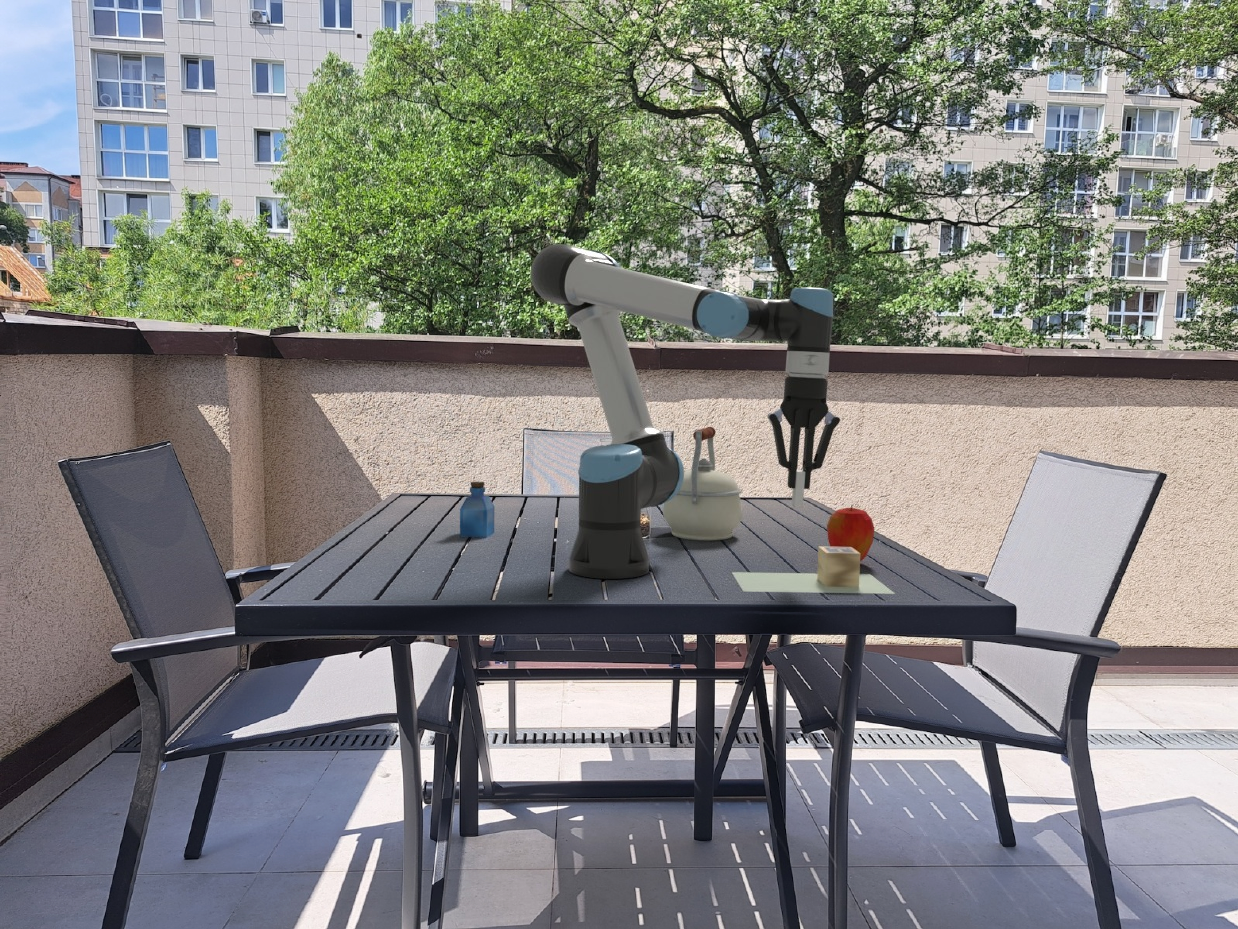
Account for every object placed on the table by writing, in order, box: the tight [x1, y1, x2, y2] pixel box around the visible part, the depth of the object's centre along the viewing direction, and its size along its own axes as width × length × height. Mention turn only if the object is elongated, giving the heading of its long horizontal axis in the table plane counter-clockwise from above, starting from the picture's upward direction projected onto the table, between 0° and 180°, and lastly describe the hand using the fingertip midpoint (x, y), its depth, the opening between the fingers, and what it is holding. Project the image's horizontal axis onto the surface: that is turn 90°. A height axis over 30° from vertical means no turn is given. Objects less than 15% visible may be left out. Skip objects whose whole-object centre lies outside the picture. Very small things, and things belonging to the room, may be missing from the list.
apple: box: [826, 504, 875, 563], centre depth 181 cm, size 9×9×12 cm
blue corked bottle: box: [459, 481, 495, 539], centre depth 206 cm, size 6×6×12 cm
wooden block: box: [816, 546, 861, 587], centre depth 162 cm, size 6×6×6 cm
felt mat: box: [731, 571, 896, 595], centre depth 163 cm, size 26×15×1 cm, turn 91°
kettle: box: [662, 426, 744, 542], centre depth 211 cm, size 25×18×25 cm
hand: (797, 506), depth 165 cm, fingers closed
